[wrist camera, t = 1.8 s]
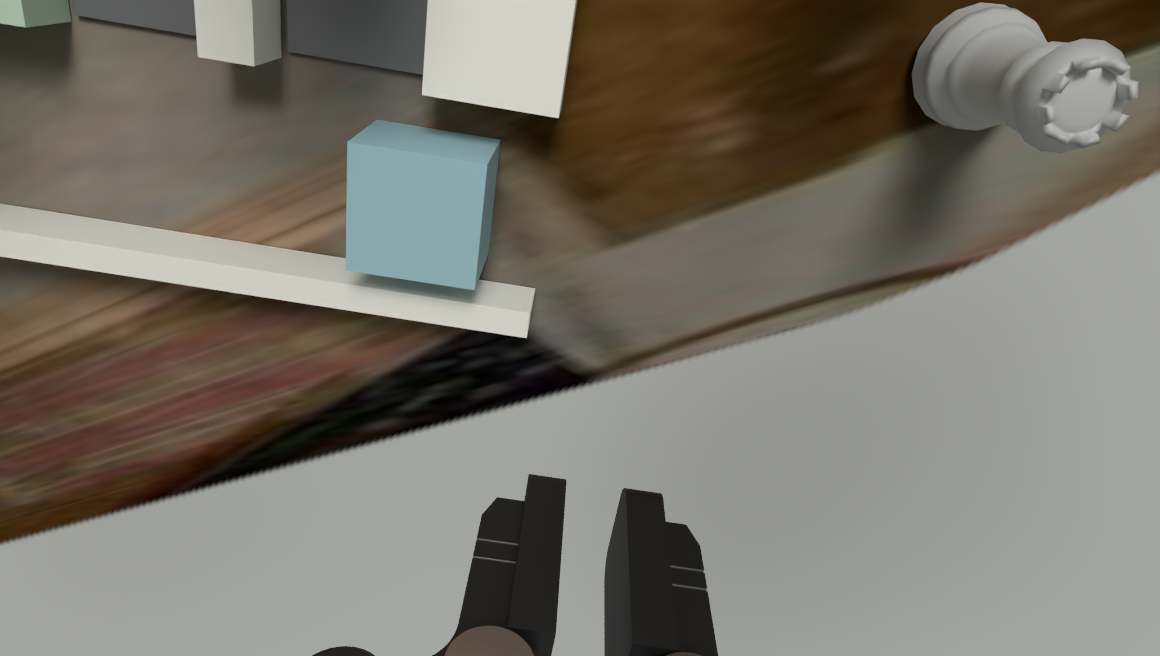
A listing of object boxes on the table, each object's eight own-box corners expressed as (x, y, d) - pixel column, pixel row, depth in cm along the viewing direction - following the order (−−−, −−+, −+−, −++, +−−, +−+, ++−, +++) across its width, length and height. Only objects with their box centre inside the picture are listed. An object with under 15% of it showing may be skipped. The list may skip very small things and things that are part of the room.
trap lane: (-42, 222, 32) (-91, 242, 30) (-151, -240, 25) (-226, -260, 22) (531, 312, 33) (526, 338, 31) (592, -103, 26) (591, -108, 24)
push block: (374, 234, 32) (346, 270, 28) (377, 119, 30) (347, 141, 26) (488, 252, 32) (474, 290, 29) (500, 138, 30) (487, 164, 26)
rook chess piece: (957, 148, 29) (1069, 210, 22) (882, 74, 28) (976, 115, 21) (1053, 56, 28) (1208, 91, 21) (978, -27, 27) (1114, -19, 20)
